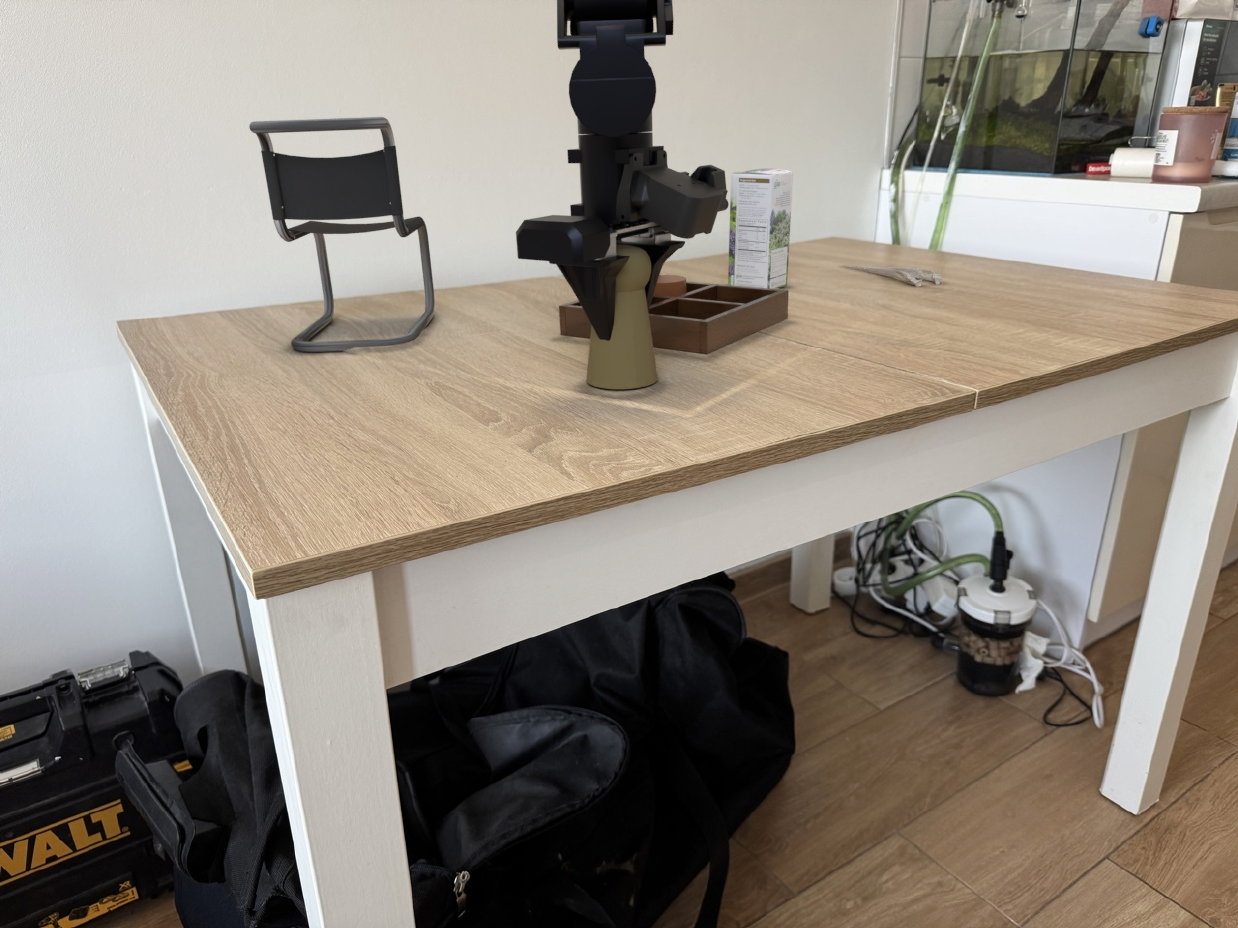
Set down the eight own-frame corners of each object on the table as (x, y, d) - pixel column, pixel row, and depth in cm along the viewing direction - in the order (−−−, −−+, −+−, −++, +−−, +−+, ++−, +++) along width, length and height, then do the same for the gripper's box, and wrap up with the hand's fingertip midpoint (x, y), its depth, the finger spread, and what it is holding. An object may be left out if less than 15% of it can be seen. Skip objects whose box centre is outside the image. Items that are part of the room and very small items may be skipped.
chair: (282, 355, 92) (242, 121, 84) (327, 319, 108) (297, 120, 100) (412, 349, 92) (384, 116, 84) (437, 314, 108) (416, 116, 100)
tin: (632, 317, 101) (631, 280, 99) (657, 308, 105) (656, 273, 103) (671, 321, 98) (670, 284, 97) (694, 312, 102) (694, 276, 100)
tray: (560, 339, 94) (558, 305, 93) (651, 308, 107) (651, 278, 106) (707, 359, 85) (707, 322, 83) (787, 322, 98) (788, 290, 97)
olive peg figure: (584, 371, 79) (579, 242, 75) (653, 367, 80) (651, 240, 76) (588, 391, 74) (582, 253, 70) (662, 387, 74) (660, 250, 70)
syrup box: (748, 283, 120) (750, 168, 115) (789, 286, 117) (793, 168, 112) (727, 290, 116) (728, 171, 111) (769, 294, 113) (772, 171, 108)
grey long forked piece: (944, 284, 116) (944, 268, 116) (913, 289, 115) (914, 273, 114) (860, 274, 132) (860, 260, 131) (832, 278, 130) (832, 264, 129)
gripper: (634, 138, 58) (640, 373, 64) (765, 127, 72) (761, 321, 78) (503, 140, 64) (519, 355, 70) (648, 130, 79) (651, 309, 84)
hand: (621, 334), depth 75 cm, fingers closed on olive peg figure, 4 cm apart
